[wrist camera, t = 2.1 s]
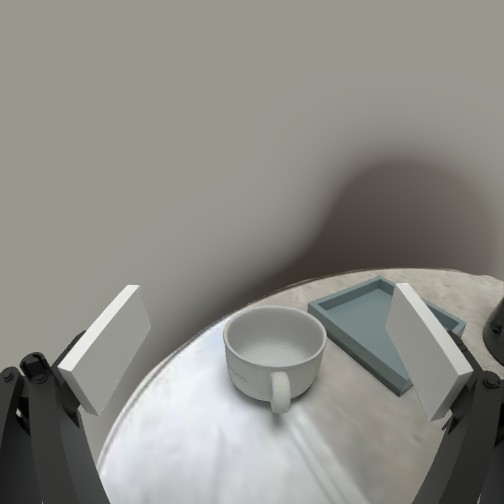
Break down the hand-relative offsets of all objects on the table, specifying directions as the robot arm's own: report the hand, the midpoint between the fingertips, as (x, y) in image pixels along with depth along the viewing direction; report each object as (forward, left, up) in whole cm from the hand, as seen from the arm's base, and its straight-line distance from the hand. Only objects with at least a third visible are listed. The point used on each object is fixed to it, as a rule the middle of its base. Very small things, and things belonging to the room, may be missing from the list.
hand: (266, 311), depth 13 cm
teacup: (-5, -9, -18) cm, 21 cm away
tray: (-25, -9, -18) cm, 32 cm away
